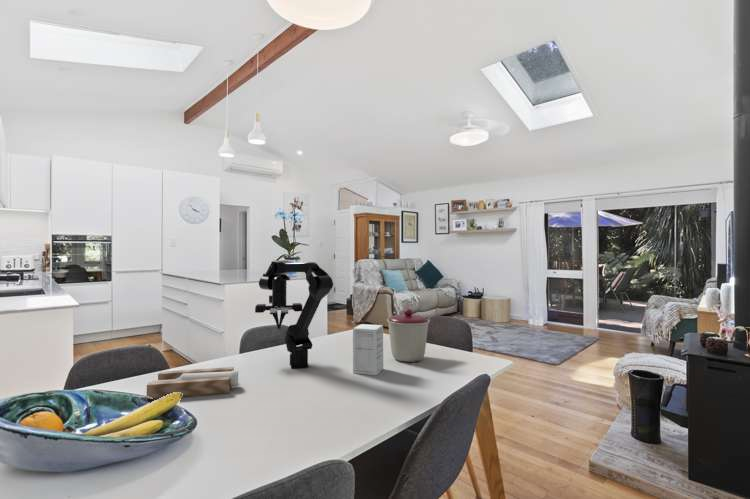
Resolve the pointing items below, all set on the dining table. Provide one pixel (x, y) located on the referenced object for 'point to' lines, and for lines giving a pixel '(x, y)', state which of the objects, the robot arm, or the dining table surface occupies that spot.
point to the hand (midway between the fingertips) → (279, 328)
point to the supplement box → (368, 349)
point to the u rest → (189, 384)
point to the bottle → (209, 376)
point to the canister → (408, 336)
